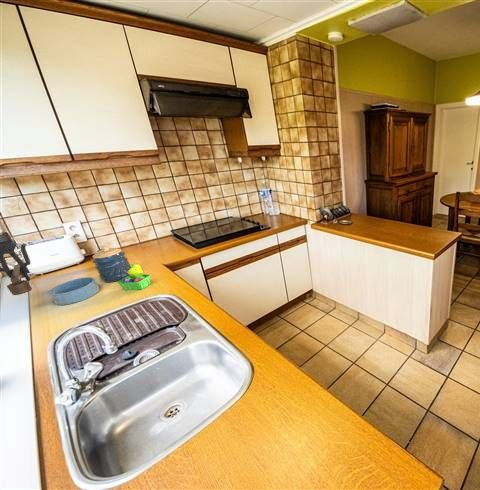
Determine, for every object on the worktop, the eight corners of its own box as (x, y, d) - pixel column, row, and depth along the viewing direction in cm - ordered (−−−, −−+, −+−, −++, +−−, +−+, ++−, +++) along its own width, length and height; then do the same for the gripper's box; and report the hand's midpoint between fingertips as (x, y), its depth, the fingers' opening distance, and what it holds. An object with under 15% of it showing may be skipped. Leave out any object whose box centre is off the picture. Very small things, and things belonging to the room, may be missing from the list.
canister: (129, 268, 152) (116, 240, 145) (137, 274, 145) (123, 244, 138) (99, 278, 142) (83, 249, 135) (106, 285, 135) (90, 254, 128)
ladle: (16, 278, 126) (8, 266, 124) (34, 273, 130) (26, 262, 127) (11, 296, 111) (2, 283, 109) (32, 291, 115) (23, 278, 112)
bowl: (55, 297, 127) (48, 287, 124) (98, 284, 137) (92, 274, 135) (55, 309, 117) (48, 298, 115) (101, 294, 128) (95, 283, 125)
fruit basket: (120, 291, 129) (110, 271, 124) (135, 282, 137) (126, 262, 132) (142, 291, 128) (133, 271, 124) (156, 281, 136) (148, 262, 132)
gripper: (-40, 241, 106) (-4, 291, 115) (20, 230, 116) (48, 277, 125) (-36, 237, 110) (-2, 285, 120) (21, 227, 121) (48, 272, 130)
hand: (23, 281), depth 123 cm, fingers closed on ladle, 2 cm apart
